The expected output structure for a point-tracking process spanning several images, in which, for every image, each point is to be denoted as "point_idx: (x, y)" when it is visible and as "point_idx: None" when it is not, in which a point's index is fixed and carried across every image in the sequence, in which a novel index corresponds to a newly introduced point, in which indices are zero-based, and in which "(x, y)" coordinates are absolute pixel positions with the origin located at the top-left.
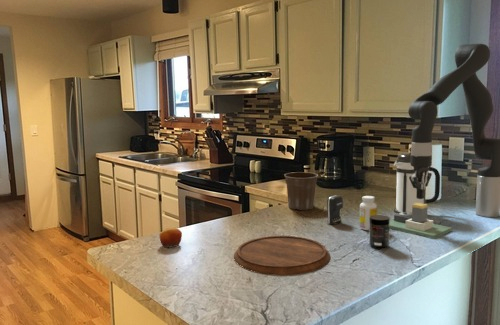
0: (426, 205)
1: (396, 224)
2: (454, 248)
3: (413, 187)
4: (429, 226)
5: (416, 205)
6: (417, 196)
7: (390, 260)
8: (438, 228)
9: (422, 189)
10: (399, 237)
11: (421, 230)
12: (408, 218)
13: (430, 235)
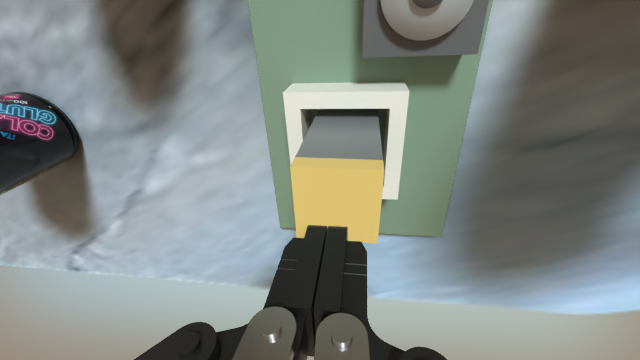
0: (362, 238)
1: (296, 10)
2: (251, 285)
3: (182, 331)
4: None
5: (293, 198)
6: (288, 252)
7: (24, 213)
8: (387, 205)
9: (311, 354)
10: (185, 124)
11: None
12: (373, 56)
13: (279, 214)
